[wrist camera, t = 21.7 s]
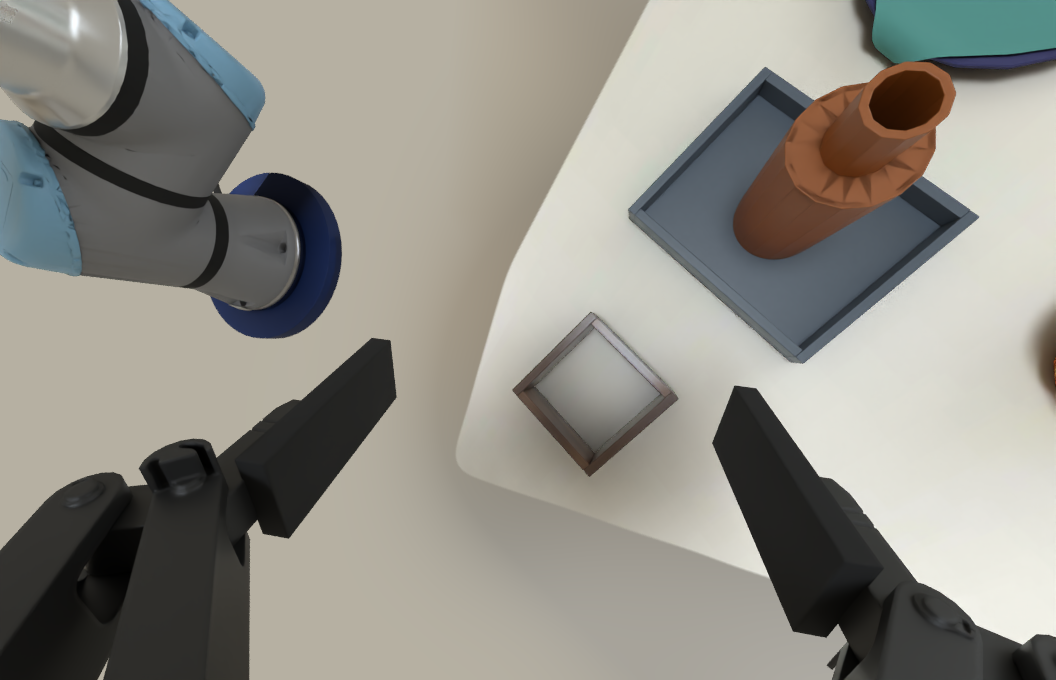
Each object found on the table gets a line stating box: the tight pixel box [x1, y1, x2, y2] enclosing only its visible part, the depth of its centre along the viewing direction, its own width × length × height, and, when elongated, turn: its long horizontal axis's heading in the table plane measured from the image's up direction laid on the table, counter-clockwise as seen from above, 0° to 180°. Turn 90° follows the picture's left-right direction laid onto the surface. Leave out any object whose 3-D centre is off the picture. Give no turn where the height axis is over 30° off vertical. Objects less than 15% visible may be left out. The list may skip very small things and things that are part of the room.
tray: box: [628, 67, 979, 364], centre depth 32 cm, size 20×16×3 cm
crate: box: [513, 312, 678, 477], centre depth 36 cm, size 11×11×4 cm
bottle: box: [733, 61, 956, 259], centre depth 25 cm, size 7×7×17 cm
